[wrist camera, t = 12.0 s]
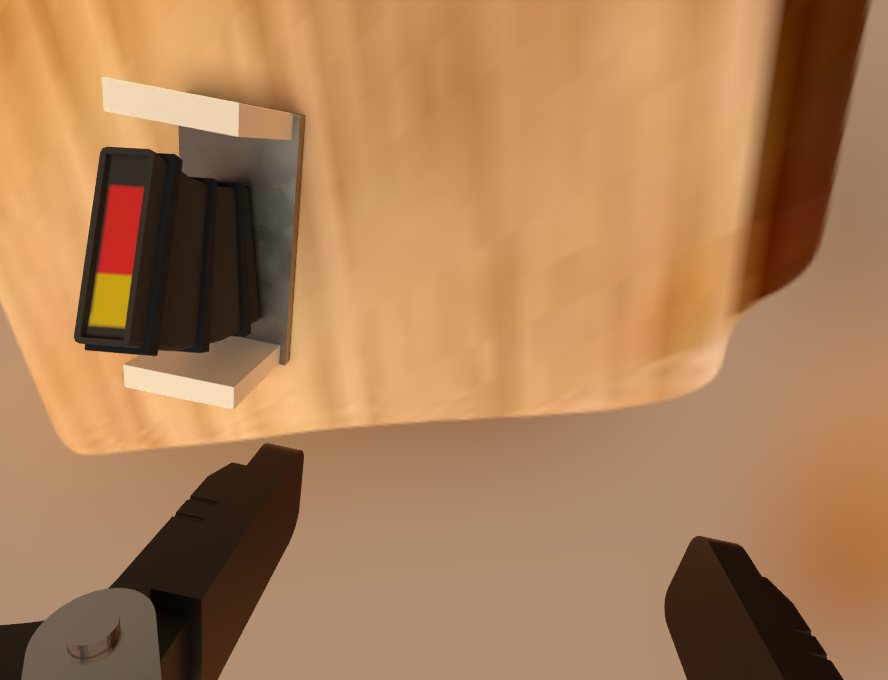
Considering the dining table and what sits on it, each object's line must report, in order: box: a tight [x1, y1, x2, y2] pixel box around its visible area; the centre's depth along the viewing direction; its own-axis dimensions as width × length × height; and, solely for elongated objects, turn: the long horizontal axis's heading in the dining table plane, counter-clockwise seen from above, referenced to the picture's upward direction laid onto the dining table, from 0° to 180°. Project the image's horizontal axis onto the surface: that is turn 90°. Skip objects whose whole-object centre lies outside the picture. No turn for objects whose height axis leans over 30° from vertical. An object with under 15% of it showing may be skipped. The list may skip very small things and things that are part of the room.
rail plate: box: [179, 113, 305, 365], centre depth 39 cm, size 20×9×1 cm, turn 170°
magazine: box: [74, 147, 260, 356], centre depth 34 cm, size 4×13×15 cm, turn 177°
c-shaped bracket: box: [101, 76, 293, 409], centre depth 35 cm, size 20×8×8 cm, turn 170°
